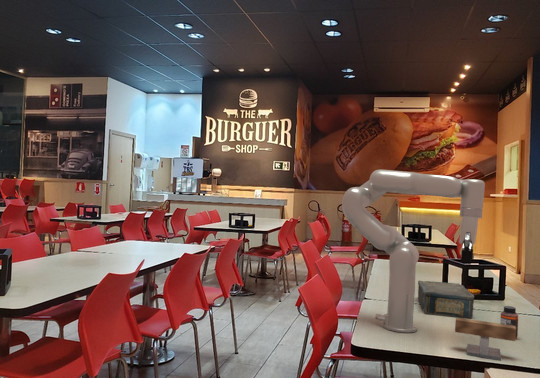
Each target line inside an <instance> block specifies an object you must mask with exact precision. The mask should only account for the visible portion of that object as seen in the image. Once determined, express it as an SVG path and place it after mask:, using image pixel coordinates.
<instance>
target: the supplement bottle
mask: <svg viewBox="0 0 540 378" xmlns="http://www.w3.org/2000/svg"><path fill="white" fill-rule="evenodd" d="M516 309H517V308H516V307H515V306H511V305H504V306H503V311H502V312H501V313H500V322H499V324H506V325H513V326H515V327H516V339H517V338H518V331H519V315H518V313H517V312H516V311H517V310H516Z"/></svg>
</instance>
